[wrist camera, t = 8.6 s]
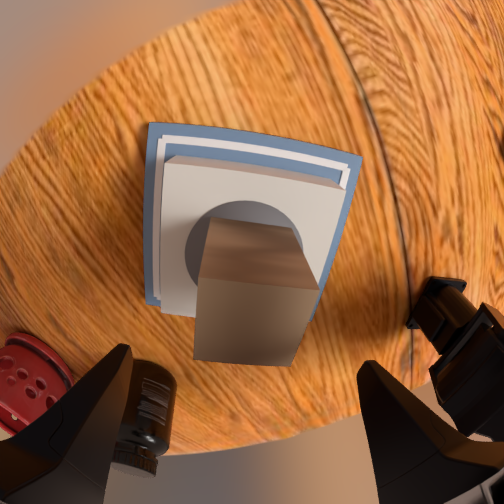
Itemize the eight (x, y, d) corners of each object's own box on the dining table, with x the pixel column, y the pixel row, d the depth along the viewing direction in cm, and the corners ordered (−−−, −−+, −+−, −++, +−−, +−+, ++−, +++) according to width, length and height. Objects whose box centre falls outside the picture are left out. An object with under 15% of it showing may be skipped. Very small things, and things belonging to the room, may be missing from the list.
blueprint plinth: (357, 155, 18) (385, 166, 14) (309, 313, 24) (319, 346, 20) (153, 122, 16) (132, 124, 12) (148, 296, 22) (136, 329, 18)
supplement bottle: (109, 360, 26) (80, 452, 15) (161, 355, 26) (140, 461, 15) (139, 394, 29) (122, 477, 19) (187, 391, 29) (179, 483, 18)
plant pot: (93, 397, 30) (73, 466, 19) (25, 372, 28) (-1, 429, 18) (68, 335, 24) (27, 422, 14) (-5, 309, 22) (-49, 372, 12)
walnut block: (291, 227, 15) (320, 290, 10) (274, 293, 17) (290, 366, 12) (211, 216, 15) (198, 276, 10) (203, 285, 17) (193, 359, 12)
